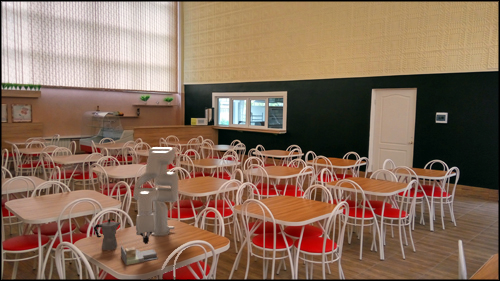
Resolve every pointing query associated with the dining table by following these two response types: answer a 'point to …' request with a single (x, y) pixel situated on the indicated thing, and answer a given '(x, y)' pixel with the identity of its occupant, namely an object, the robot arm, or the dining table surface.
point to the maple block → (130, 252)
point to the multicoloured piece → (139, 256)
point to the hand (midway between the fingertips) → (145, 243)
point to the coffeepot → (108, 234)
